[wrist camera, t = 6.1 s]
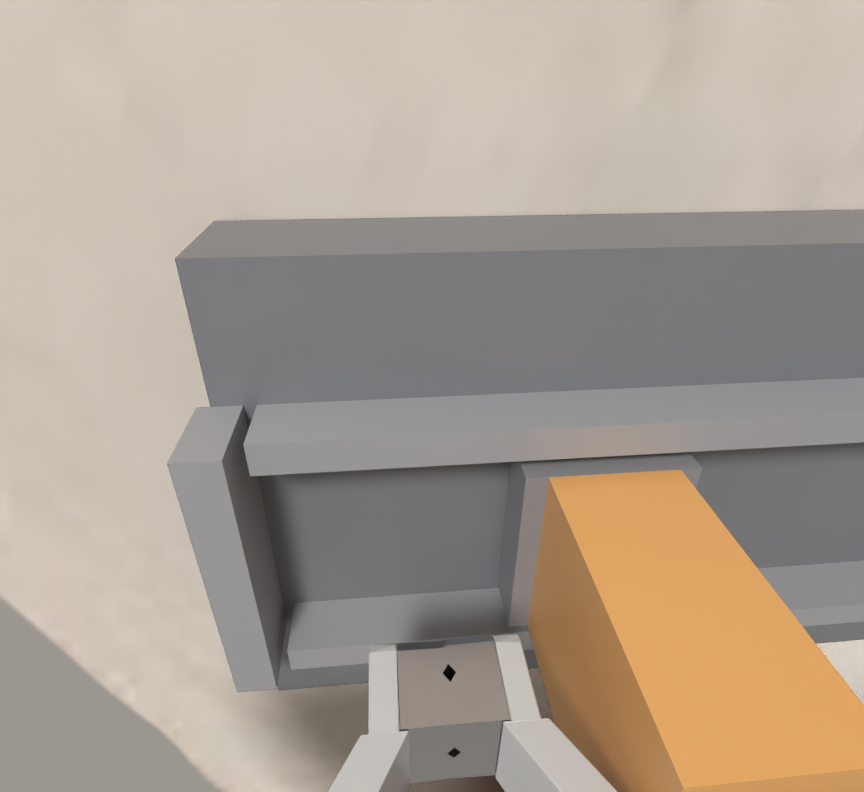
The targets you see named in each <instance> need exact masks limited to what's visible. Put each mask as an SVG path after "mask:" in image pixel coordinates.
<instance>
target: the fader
mask: <svg viewBox="0 0 864 792" xmlns="http://www.w3.org/2000/svg"><path fill="white" fill-rule="evenodd" d="M702 469H703V468H702V467H701V466H700V465H699V463H698V462H697V461H696V460H695V459H694V457H693V456H692V455H691V454H690V453H689V452H680V453H662V454H644V455H626V456H608V457H590V458H572V459H554V460H536V461H518V462H511V467H510V477H509V487H508V497H507V508H506V518H505V528H504V538H503V548H502V558H501V569H500V579H499V590H500V594H501V598H502V603H503V607H504V611H505V615H506V619H507V623H508V627H515V626H527V627H528V630H529V634H530V638H531V641H532V645H533V648H534V652H535V655H536V659H537V663H538V666H539V670H540V673H541V677H542V681H543V684H544V688H545V691H546V695H547V698H548V702H549V706H550V709H551V713H552V716H553V720H554V724H555V725H556V726H557V727H558V728H559V729H560V730H561V731H562V732H563V733H564V734H565V736H566V737H567V738H568V739H569V740H570V741H571V742H572V743H573V744H574V745H575V746H576V747H577V749H578V750H579V751H580V752H581V753H582V754H583V755H584V756H585V757H586V758H587V759H588V760H589V762H590V763H591V764H592V765H593V766H594V767H595V768H596V769H597V770H598V771H599V772H600V773H601V775H602V776H603V777H604V778H605V779H606V780H607V781H608V782H609V783H610V784H611V785H612V786H613V788H614V789H615V790H616V791H617V792H864V705H863V704H862V703H861V701H860V700H859V699H858V698H857V696H856V695H855V694H854V692H853V691H852V690H851V689H850V687H849V686H848V685H847V683H846V682H845V681H844V679H843V678H842V677H841V676H840V674H839V673H838V672H837V670H836V669H835V668H834V667H833V665H832V664H831V663H830V661H829V660H828V659H827V658H826V656H825V655H824V654H823V652H822V651H821V650H820V648H819V647H818V646H817V645H816V643H815V642H814V641H813V639H812V638H811V637H810V636H809V634H808V633H807V632H806V630H805V629H804V628H803V627H802V625H801V624H800V623H799V621H798V620H797V619H796V617H795V616H794V615H793V614H792V612H791V611H790V610H789V608H788V607H787V606H786V605H785V603H784V602H783V601H782V599H781V598H780V597H779V595H778V594H777V593H776V592H775V590H774V589H773V588H772V586H771V585H770V584H769V583H768V581H767V580H766V579H765V577H764V576H763V575H762V574H761V572H760V571H759V570H758V568H757V567H756V566H755V564H754V563H753V562H752V561H751V559H750V558H749V557H748V555H747V554H746V553H745V552H744V550H743V549H742V548H741V546H740V545H739V544H738V542H737V541H736V540H735V539H734V537H733V536H732V535H731V533H730V532H729V531H728V530H727V528H726V527H725V526H724V524H723V523H722V522H721V521H720V519H719V518H718V517H717V515H716V514H715V513H714V511H713V510H712V509H711V508H710V506H709V505H708V504H707V502H706V501H705V500H704V499H703V497H702V496H701V495H700V493H699V492H698V491H697V490H696V487H697V484H698V481H699V478H700V475H701V472H702Z"/></svg>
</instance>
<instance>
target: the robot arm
mask: <svg viewBox="0 0 864 792" xmlns="http://www.w3.org/2000/svg"><path fill="white" fill-rule="evenodd" d="M397 676H398V677H397ZM493 775H496V779H497V781H498V782H499V784H500V785H501V787H502V788H503V790H504V791H505V792H617V791H616V790H615V789H614V788H613V786H612V785H611V784H610V783H609V782H608V781H607V780H606V779H605V778H604V777H603V776H602V775H601V773H600V772H599V771H598V770H597V769H596V768H595V767H594V766H593V765H592V764H591V763H590V762H589V760H588V759H587V758H586V757H585V756H584V755H583V754H582V753H581V752H580V751H579V750H578V749H577V747H576V746H575V745H574V744H573V743H572V742H571V741H570V740H569V739H568V738H567V737H566V736H565V734H564V733H563V732H562V731H561V730H560V729H559V728H558V727H557V726H556V725H555V724H554V723H553V721H552V720H551V719H550V718H541V715H540V711H539V707H538V703H537V700H536V696H535V692H534V688H533V685H532V681H531V677H530V673H529V669H528V666H527V662H526V658H525V654H524V650H523V647H522V643H521V639H520V638H519V636H518V635H517V634H516V633H514V634H504V635H493V636H491V635H484V636H474V637H464V638H453V639H443V640H436V641H422V642H407V643H397V655H396V643H388V644H376V645H370V650H369V716H368V734H363V735H360V737H359V738H358V740H357V742H356V743H355V745H354V747H353V749H352V750H351V752H350V754H349V756H348V757H347V759H346V761H345V763H344V764H343V766H342V768H341V770H340V771H339V773H338V775H337V777H336V778H335V780H334V782H333V784H332V785H331V787H330V789H329V790H328V792H408V790H409V788H410V784H412V783H420V782H427V781H435V780H443V779H451V778H464V777H478V776H493Z"/></svg>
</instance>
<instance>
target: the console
mask: <svg viewBox="0 0 864 792" xmlns="http://www.w3.org/2000/svg"><path fill="white" fill-rule="evenodd" d="M175 262H176V266H177V270H178V274H179V278H180V282H181V286H182V291H183V295H184V299H185V303H186V307H187V311H188V316H189V320H190V324H191V328H192V332H193V336H194V341H195V345H196V349H197V353H198V357H199V361H200V366H201V370H202V374H203V378H204V382H205V386H206V391H207V395H208V399H209V403H210V407H198V408H196V409H195V411H194V413H193V415H192V417H191V419H190V421H189V423H188V425H187V427H186V428H185V430H184V432H183V434H182V436H181V438H180V440H179V442H178V444H177V446H176V448H175V450H174V451H173V453H172V455H171V457H170V459H169V461H168V463H167V465H168V468H169V472H170V475H171V478H172V482H173V485H174V488H175V491H176V495H177V498H178V501H179V504H180V508H181V511H182V514H183V517H184V521H185V524H186V527H187V530H188V534H189V537H190V540H191V543H192V547H193V550H194V553H195V556H196V560H197V563H198V566H199V569H200V573H201V576H202V579H203V582H204V586H205V589H206V592H207V595H208V599H209V602H210V605H211V608H212V612H213V615H214V618H215V621H216V625H217V628H218V631H219V634H220V638H221V641H222V644H223V647H224V651H225V654H226V657H227V660H228V664H229V667H230V670H231V673H232V677H233V680H234V683H235V686H236V690H237V692H247V691H259V690H270V689H277V686H278V690H290V689H301V688H313V687H324V686H336V685H347V684H358V683H369V650H370V645H376V644H388V643H396V655H397V643H407V642H422V641H436V640H443V639H453V638H464V637H474V636H484V635H491V636H493V635H504V634H514V633H516V634H517V635H518V636H519V638H520V639H521V643H522V647H523V650H524V654H525V658H526V662H527V666H528V669H530V668H539V666H538V663H537V659H536V655H535V652H534V648H533V645H532V641H531V638H530V634H529V630H528V627H527V626H515V627H508V623H507V619H506V615H505V611H504V607H503V603H502V598H501V594H500V590H499V579H500V569H501V558H502V548H503V538H504V528H505V518H506V508H507V497H508V487H509V477H510V467H511V462H518V461H536V460H554V459H572V458H590V457H608V456H626V455H644V454H662V453H680V452H689V453H690V454H691V455H692V456H693V457H694V459H695V460H696V461H697V462H698V463H699V465H700V466H701V467H702V468H703V469H702V472H701V475H700V478H699V481H698V484H697V487H696V490H697V491H698V492H699V493H700V495H701V496H702V497H703V499H704V500H705V501H706V502H707V504H708V505H709V506H710V508H711V509H712V510H713V511H714V513H715V514H716V515H717V517H718V518H719V519H720V521H721V522H722V523H723V524H724V526H725V527H726V528H727V530H728V531H729V532H730V533H731V535H732V536H733V537H734V539H735V540H736V541H737V542H738V544H739V545H740V546H741V548H742V549H743V550H744V552H745V553H746V554H747V555H748V557H749V558H750V559H751V561H752V562H753V563H754V564H755V566H756V567H757V568H758V570H759V571H760V572H761V574H762V575H763V576H764V577H765V579H766V580H767V581H768V583H769V584H770V585H771V586H772V588H773V589H774V590H775V592H776V593H777V594H778V595H779V597H780V598H781V599H782V601H783V602H784V603H785V605H786V606H787V607H788V608H789V610H790V611H791V612H792V614H793V615H794V616H795V617H796V619H797V620H798V621H799V623H800V624H801V625H802V627H803V628H804V629H805V630H806V632H807V633H808V634H809V636H810V637H811V638H812V639H813V641H814V642H815V643H827V642H839V641H850V640H861V639H864V210H819V211H762V212H705V213H648V214H590V215H533V216H476V217H419V218H361V219H304V220H247V221H214V222H213V223H212V224H211V225H210V226H208V227H207V228H206V229H205V230H204V231H203V232H202V233H201V234H200V235H199V236H198V237H197V238H196V239H195V240H194V241H193V242H192V243H191V244H190V245H189V246H188V247H186V248H185V249H184V250H183V251H182V252H181V253H180V254H179V255H178V256H177V257H176V258H175ZM397 677H398V676H397Z"/></svg>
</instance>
